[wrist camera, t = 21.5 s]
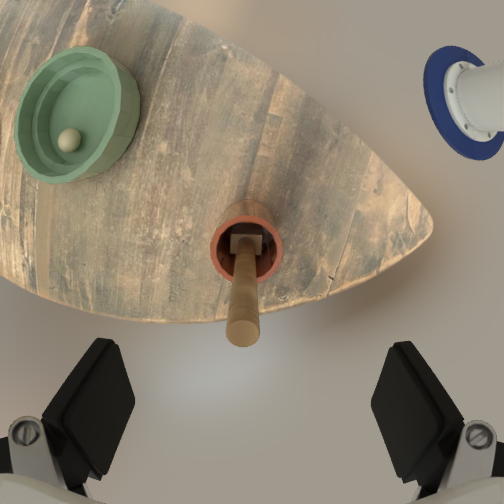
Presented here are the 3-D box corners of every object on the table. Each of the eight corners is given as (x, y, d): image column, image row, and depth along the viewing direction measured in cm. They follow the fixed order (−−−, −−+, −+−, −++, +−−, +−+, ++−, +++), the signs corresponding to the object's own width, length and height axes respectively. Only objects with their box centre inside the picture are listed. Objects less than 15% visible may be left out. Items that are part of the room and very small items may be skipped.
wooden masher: (260, 223, 32) (276, 317, 13) (259, 241, 33) (272, 351, 14) (233, 222, 32) (210, 314, 13) (232, 239, 33) (211, 348, 14)
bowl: (145, 49, 26) (127, 31, 20) (141, 173, 31) (120, 176, 25) (46, 76, 26) (20, 68, 20) (42, 184, 31) (14, 190, 25)
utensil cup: (273, 199, 32) (284, 216, 22) (272, 249, 34) (281, 285, 24) (221, 199, 32) (209, 215, 22) (222, 249, 34) (211, 284, 24)
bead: (79, 143, 30) (68, 160, 28) (63, 130, 28) (50, 147, 26) (88, 133, 28) (76, 151, 27) (71, 119, 26) (57, 137, 25)
